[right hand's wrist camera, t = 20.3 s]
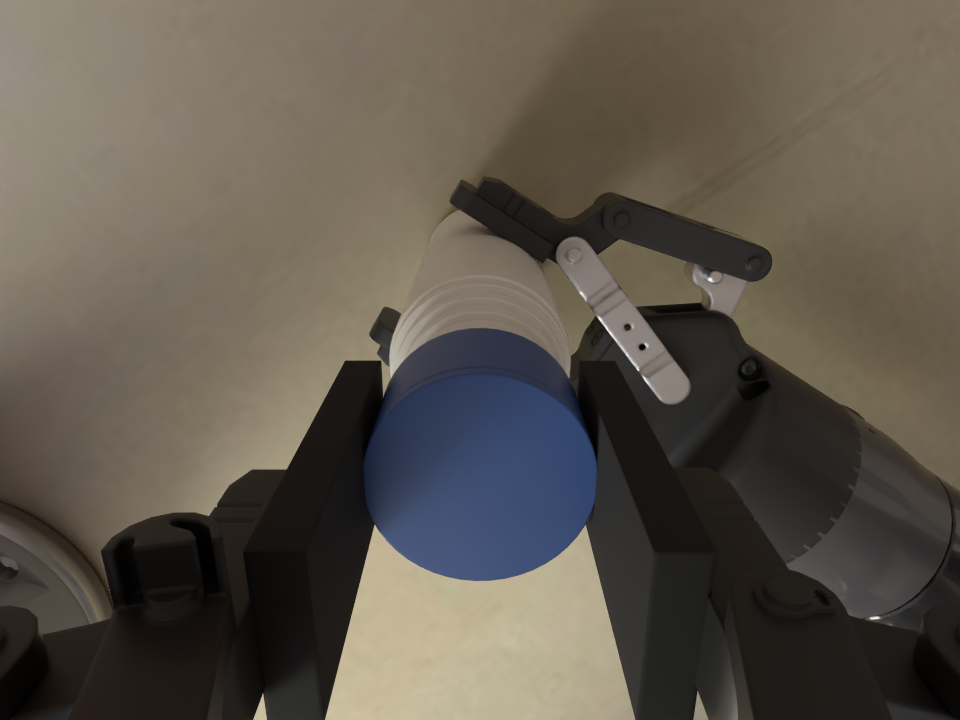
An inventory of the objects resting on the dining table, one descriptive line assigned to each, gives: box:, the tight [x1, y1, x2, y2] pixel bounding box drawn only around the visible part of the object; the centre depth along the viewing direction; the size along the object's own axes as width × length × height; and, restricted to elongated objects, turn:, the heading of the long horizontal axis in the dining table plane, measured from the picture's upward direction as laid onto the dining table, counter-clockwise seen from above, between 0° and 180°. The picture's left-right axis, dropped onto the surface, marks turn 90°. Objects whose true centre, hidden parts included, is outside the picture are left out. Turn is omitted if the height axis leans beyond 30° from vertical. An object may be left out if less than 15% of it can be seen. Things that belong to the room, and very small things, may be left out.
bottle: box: [389, 210, 571, 378], centre depth 21 cm, size 5×5×19 cm
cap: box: [363, 328, 597, 581], centre depth 13 cm, size 4×4×3 cm
